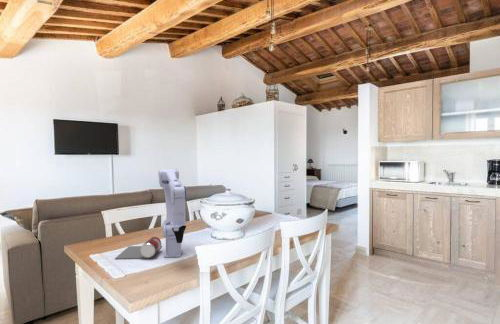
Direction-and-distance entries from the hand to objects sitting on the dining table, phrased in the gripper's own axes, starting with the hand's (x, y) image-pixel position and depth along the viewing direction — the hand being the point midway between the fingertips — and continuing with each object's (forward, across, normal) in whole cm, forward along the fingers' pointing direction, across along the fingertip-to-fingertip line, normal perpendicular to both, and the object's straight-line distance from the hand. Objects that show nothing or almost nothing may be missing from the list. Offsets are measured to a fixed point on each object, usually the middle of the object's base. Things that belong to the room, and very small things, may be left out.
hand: (179, 242), depth 133 cm
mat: (+10, -18, -24) cm, 32 cm away
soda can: (+6, -8, -17) cm, 20 cm away
